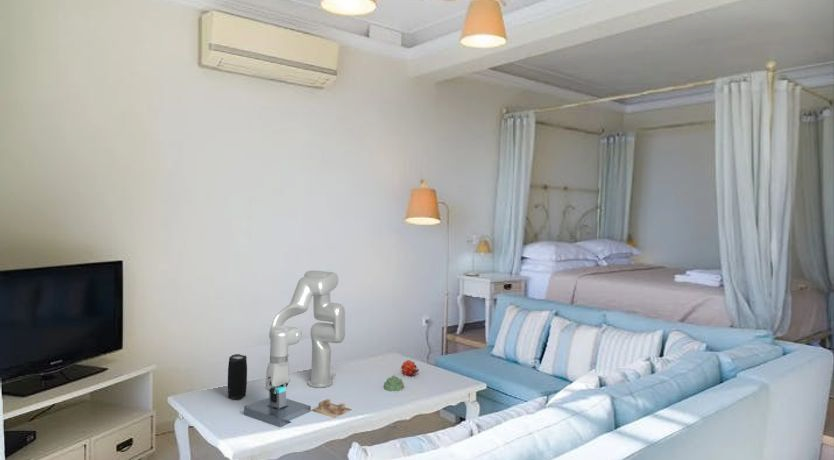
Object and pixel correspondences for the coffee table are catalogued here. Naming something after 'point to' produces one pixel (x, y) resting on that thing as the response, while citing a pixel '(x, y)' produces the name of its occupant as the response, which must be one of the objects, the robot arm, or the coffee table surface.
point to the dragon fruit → (409, 368)
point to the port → (276, 412)
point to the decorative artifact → (393, 384)
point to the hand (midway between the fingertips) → (277, 399)
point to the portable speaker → (237, 376)
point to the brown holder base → (331, 409)
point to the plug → (279, 397)
